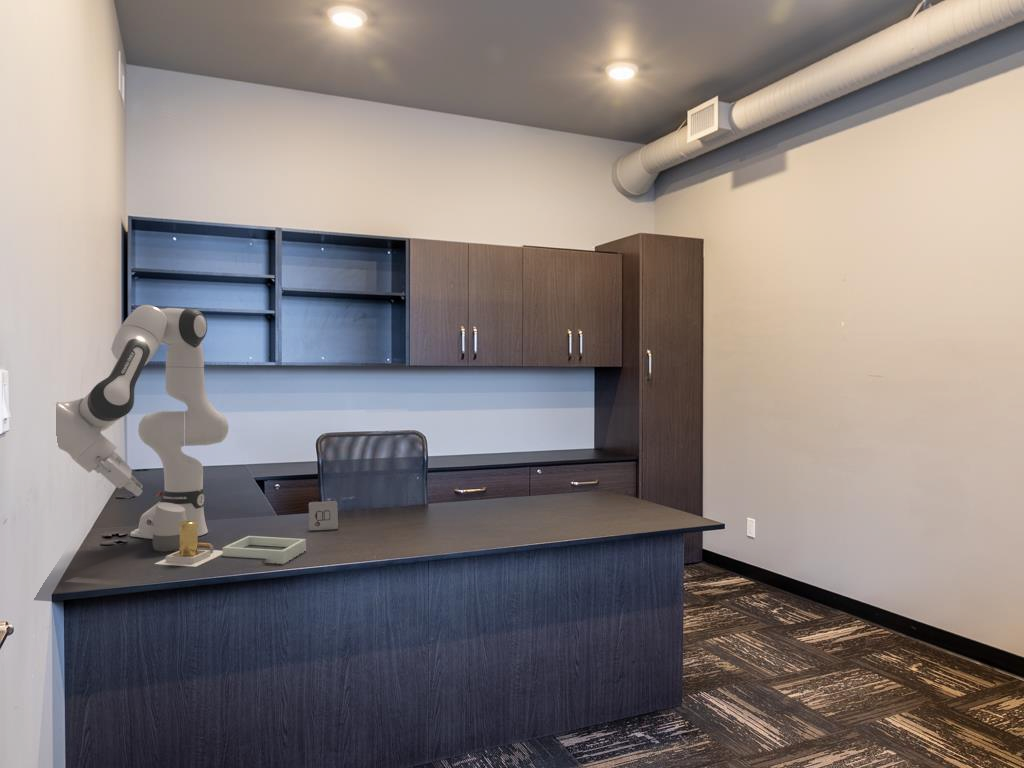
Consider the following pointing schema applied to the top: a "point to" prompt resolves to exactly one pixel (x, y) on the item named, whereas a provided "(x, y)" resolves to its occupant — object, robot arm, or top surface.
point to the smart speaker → (167, 526)
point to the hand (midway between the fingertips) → (140, 491)
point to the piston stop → (188, 538)
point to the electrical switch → (323, 515)
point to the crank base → (203, 555)
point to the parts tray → (269, 555)
